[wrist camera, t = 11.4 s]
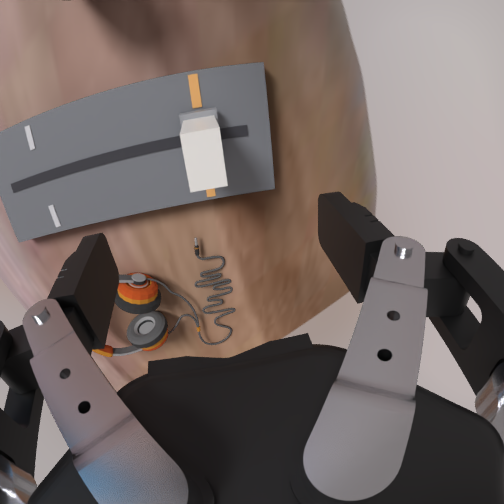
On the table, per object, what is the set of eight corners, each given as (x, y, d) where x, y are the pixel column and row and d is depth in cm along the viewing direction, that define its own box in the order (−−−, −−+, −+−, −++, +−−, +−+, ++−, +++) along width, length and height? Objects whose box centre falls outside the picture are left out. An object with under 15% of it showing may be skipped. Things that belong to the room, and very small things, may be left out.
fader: (179, 113, 24) (174, 127, 18) (215, 107, 24) (222, 119, 18) (189, 168, 27) (188, 200, 21) (223, 162, 27) (232, 192, 21)
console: (-7, 135, 22) (-18, 140, 20) (259, 62, 25) (263, 62, 23) (26, 233, 29) (18, 242, 27) (270, 181, 31) (275, 189, 30)
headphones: (243, 351, 41) (98, 388, 34) (230, 325, 45) (96, 358, 38) (241, 241, 32) (46, 284, 25) (224, 220, 36) (53, 256, 29)
